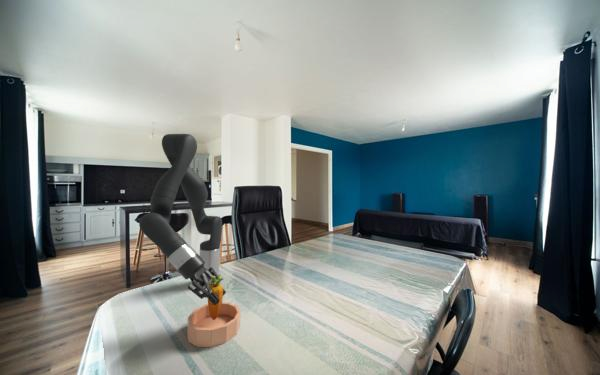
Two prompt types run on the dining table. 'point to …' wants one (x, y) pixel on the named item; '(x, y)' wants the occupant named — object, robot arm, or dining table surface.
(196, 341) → the terracotta bowl
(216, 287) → the carrot
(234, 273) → the dining table surface
